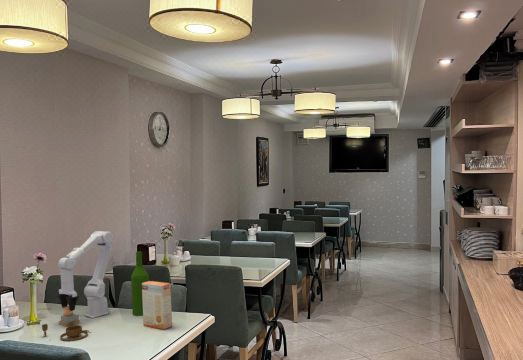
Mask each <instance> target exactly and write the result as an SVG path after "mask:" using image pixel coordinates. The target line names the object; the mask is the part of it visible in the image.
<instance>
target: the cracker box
mask: <svg viewBox="0 0 523 360" xmlns="http://www.w3.org/2000/svg"><path fill="white" fill-rule="evenodd" d="M171 291H172V290H171V283H170V282H162V281H154V280H152V281H151V280H149V281H148V282H144V283H142V300H143V316H142V317H143V318H142V319H143V321H142V322H143V324H142V325H143V326H144V327H147V328H149V327H150V328H153V329H159V330H162V331H163V330H167V329H169V328H172V327H173V318H172V317H173V315H172V296H171V295H172V292H171Z"/></svg>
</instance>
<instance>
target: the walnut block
mask: <svg viewBox="0 0 523 360" xmlns="http://www.w3.org/2000/svg"><path fill="white" fill-rule="evenodd" d="M80 320H81V319H79V320H76V321H72V322H69V323H66V322H63V321H61V320H59V321H58V323H59V326H62V327H64V328H67V327H70V326H75V325H79V324H80Z"/></svg>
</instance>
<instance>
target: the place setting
mask: <svg viewBox="0 0 523 360" xmlns="http://www.w3.org/2000/svg"><path fill="white" fill-rule="evenodd" d="M48 329H49V326H48V323H45V324H41V330H42V331H43V332H44V333H43V335H44V337H45V338H46V337H47V331H48ZM89 333H90V334H91V333H92V332H91V331H90V330H89V329H83V326H81V325H79V324H77V325H73V326H69V327H65V332H64V333H61V335H60V336H59V338H60V341H63V342H77V341H80V340H83V339H85V338H87V336H88V335H89ZM81 334H84V335H82V336H80V335H81ZM65 337H68V338H65ZM49 341H52V338H51V339H49Z"/></svg>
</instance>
